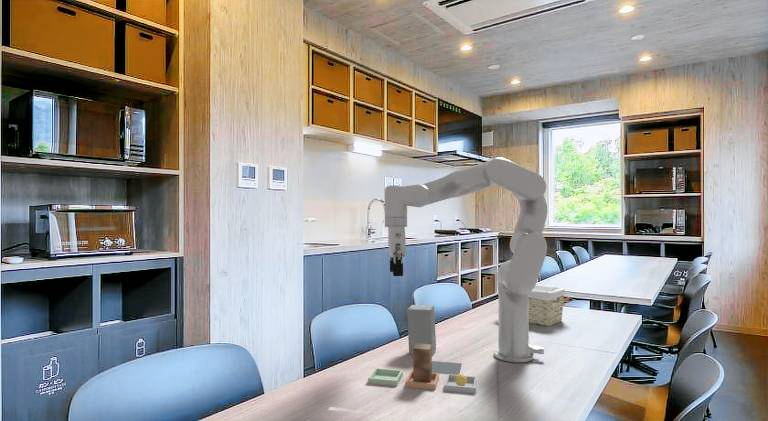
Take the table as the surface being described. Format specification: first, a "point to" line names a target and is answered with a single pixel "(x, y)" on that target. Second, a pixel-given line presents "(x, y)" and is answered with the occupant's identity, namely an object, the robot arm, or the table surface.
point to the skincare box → (421, 326)
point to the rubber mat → (446, 367)
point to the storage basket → (545, 305)
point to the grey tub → (467, 388)
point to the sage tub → (385, 377)
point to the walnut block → (422, 363)
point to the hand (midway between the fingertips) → (396, 273)
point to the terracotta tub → (421, 385)
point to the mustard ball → (460, 380)
